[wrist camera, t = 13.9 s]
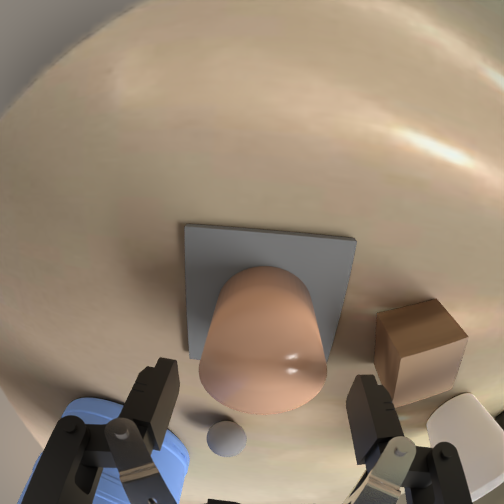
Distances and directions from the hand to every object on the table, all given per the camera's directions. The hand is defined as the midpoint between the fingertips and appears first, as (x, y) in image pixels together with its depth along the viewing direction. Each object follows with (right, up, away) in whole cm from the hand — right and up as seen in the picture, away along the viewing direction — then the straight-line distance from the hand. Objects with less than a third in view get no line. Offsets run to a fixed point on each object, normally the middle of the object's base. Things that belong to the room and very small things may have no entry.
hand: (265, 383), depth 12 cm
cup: (+22, -12, +12) cm, 28 cm away
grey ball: (-3, -10, +12) cm, 16 cm away
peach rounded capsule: (0, +2, +6) cm, 7 cm away
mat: (0, +2, +7) cm, 7 cm away
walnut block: (+11, 0, +8) cm, 13 cm away
